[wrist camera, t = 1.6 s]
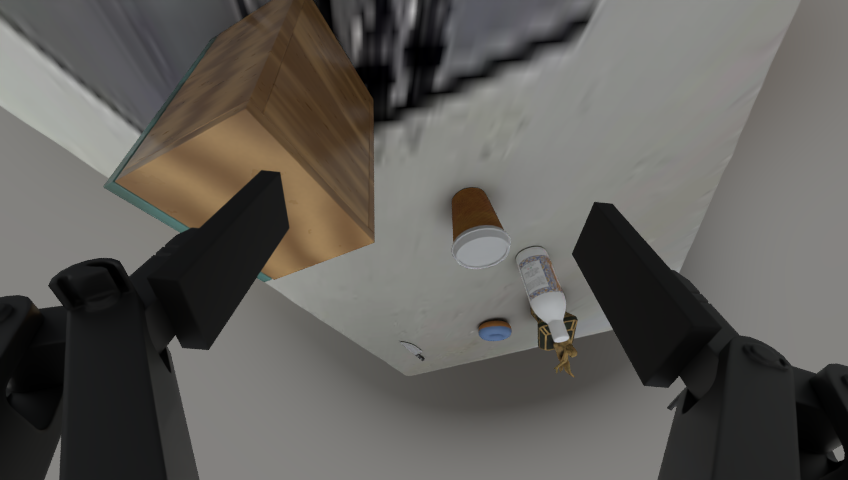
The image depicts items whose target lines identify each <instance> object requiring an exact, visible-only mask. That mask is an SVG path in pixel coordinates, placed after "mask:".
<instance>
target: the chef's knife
mask: <svg viewBox="0 0 848 480" xmlns="http://www.w3.org/2000/svg"><path fill="white" fill-rule="evenodd" d="M400 343H401V344H402V345H403V346H405V347H406V348H407V349H408V350H409V351H411V352H412V353H413V354H414V355H415V356H417V357H418V358H419V359H421V360H422V361H424V359H425V358H423V357H421V356H420V355H419V353H421V352H422V351H421V350H420V349H418V348H417V347H416V346H414V345H412V344H409V343H405V342H400Z"/></svg>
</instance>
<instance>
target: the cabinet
mask: <svg viewBox="0 0 848 480" xmlns="http://www.w3.org/2000/svg"><path fill="white" fill-rule="evenodd" d="M261 170H266V171H276V172H280V174H281V179H282V185H283V191H284V197H285V203H286V209H287V215H288V221H289V227H290V228H289V230H288V231H287V233H286V234H285V236H284V237H283V239H282V240H281V242H280V243H279V245H278V246H277V248H276V249H275V251H274V252H273V254H272V255H271V257H270V258H269V260H268V261H267V263H266V264H265V266H264V267H263V269H262V270H261V272H262V273H264V274H266V275H267V276H269V277H271V278H272V279H274V280H275V279H278V278H280V277H283V276H286V275H288V274H291V273H294V272H297V271H299V270H302V269H305V268H307V267H310V266H313V265H315V264H318V263H321V262H324V261H326V260H329V259H332V258H334V257H337V256H340V255H342V254H345V253H348V252H350V251H353V250H356V249H359V248H361V247H364V246H367V245H369V244H372V243H374V242H375V236H374V117H373V98H372V96H371V95H370V93H369V91H368V90H367V88H366V86H365V85H364V83H363V82H362V80H361V78H360V77H359V75H358V73H357V72H356V70H355V68H354V67H353V65H352V63H351V62H350V60H349V59H348V57H347V55H346V54H345V52H344V50H343V49H342V47H341V45H340V44H339V42H338V40H337V39H336V37H335V36H334V34H333V32H332V31H331V29H330V27H329V26H328V24H327V22H326V21H325V19H324V17H323V16H322V14H321V13H320V11H319V9H318V8H317V6H316V4H315V3H314V1H313V0H271V1H270V2H268V3H267V4H265V5H264V6H262V7H261V8H259V9H257V10H256V11H254V12H253V13H251V14H250V15H248V16H247V17H245V18H244V19H242V20H240V21H239V22H237V23H236V24H234V25H233V26H231V27H230V28H228V29H227V30H225V31H223V32H222V33H220V34H219V35H218V37H217V38H216V40H215V41H214V43H213V44H212V45H211V47H210V48H209V50H208V51H207V52H206V54H205V55H204V57H203V58H202V59H201V61H200V62H199V64H198V65H197V66H196V68H195V69H194V71H193V72H192V73H191V75H190V76H189V78H188V79H187V80H186V82H185V83H184V85H183V86H182V87H181V89H180V90H179V92H178V93H177V94H176V96H175V97H174V99H173V100H172V101H171V103H170V104H169V106H168V107H167V109H166V110H165V111H164V113H163V114H162V116H161V117H160V118H159V120H158V121H157V123H156V124H155V125H154V127H153V128H152V130H151V131H150V132H149V134H148V135H147V137H146V138H145V139H144V141H143V142H142V144H141V145H140V146H139V148H138V149H137V151H136V152H135V153H134V155H133V156H132V158H131V159H130V160H129V162H128V163H127V165H126V166H125V167H124V169H123V170H122V172H121V173H120V174H119V176H118V177H117V179H116V180H115V182H116V183H118V184H119V185H121V186H122V187H124V188H126V189H127V190H129V191H131V192H132V193H134V194H135V195H137V196H139V197H140V198H142V199H144V200H145V201H147V202H148V203H150V204H152V205H153V206H155V207H157V208H158V209H160V210H161V211H163V212H165V213H166V214H168V215H170V216H171V217H173V218H175V219H176V220H178V221H179V222H181V223H183V224H184V225H186V226H188V227H189V228H192V227H194V228H200V227H201V226H202V225H203V224H204V223H205V222H206V221H207V220H208V219H210V218H211V217H212V216H213V215H214V214H215V213H216V212H217V211H218V210H219V209H220V208H221V207H222V206H223V205H225V204H226V203H227V202H228V201H229V200H230V199H231V198H232V197H233V196H234V195H235V194H236V193H237V192H238V191H240V190H241V189H242V188H243V187H244V186H245V185H246V184H247V183H248V182H249V181H250V180H251V179H252V178H253V177H255V176H256V175H257V174H258V173H259V172H260V171H261Z"/></svg>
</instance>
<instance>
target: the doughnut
mask: <svg viewBox="0 0 848 480" xmlns="http://www.w3.org/2000/svg"><path fill="white" fill-rule="evenodd" d="M511 332H512V330H511V326H510V325H509V324H508V323H507V322H504V321H488V322H485V323H483V324H482V325H481V326H480V327H479V336H480V337H481V338H482V339H484V340H487V341H499V340H504V339H506V338H508V337H509V336H510V335H511Z"/></svg>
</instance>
